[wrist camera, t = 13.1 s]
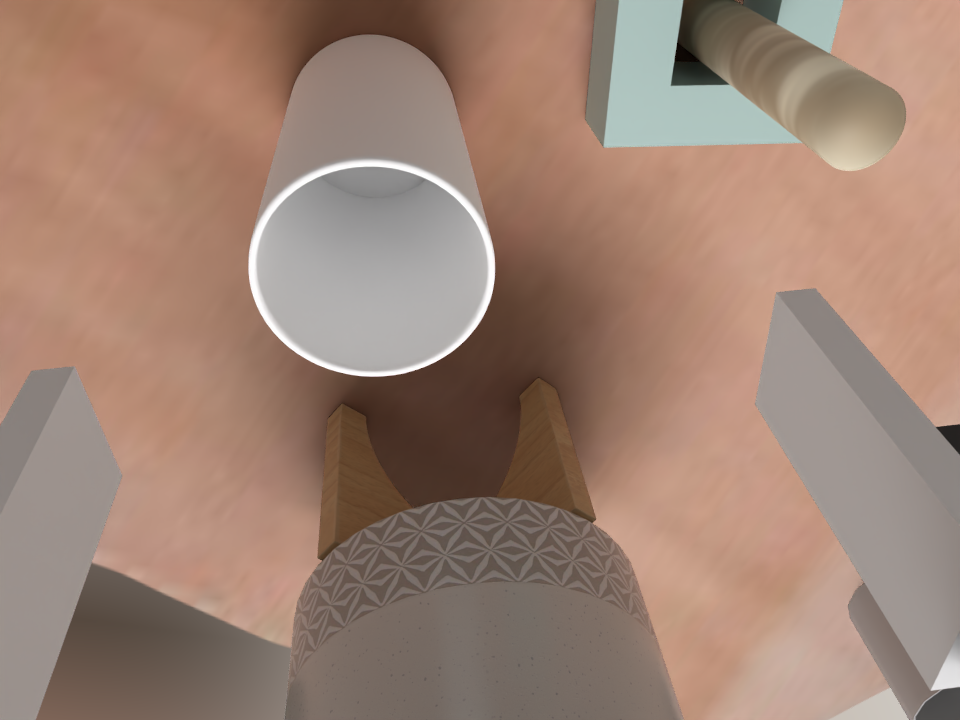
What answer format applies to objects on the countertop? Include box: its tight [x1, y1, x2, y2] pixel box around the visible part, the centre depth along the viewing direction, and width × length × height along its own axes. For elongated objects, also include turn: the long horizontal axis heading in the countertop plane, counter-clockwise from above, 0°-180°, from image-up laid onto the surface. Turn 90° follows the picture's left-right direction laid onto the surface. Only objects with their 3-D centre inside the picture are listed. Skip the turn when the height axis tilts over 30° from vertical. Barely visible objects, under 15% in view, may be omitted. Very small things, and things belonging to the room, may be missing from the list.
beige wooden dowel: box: [677, 0, 906, 171], centre depth 32 cm, size 3×3×16 cm
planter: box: [285, 378, 684, 720], centre depth 43 cm, size 19×19×26 cm
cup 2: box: [848, 583, 960, 720], centre depth 63 cm, size 8×8×10 cm
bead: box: [585, 0, 843, 147], centre depth 37 cm, size 10×10×4 cm
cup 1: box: [249, 35, 495, 377], centre depth 33 cm, size 8×8×16 cm
